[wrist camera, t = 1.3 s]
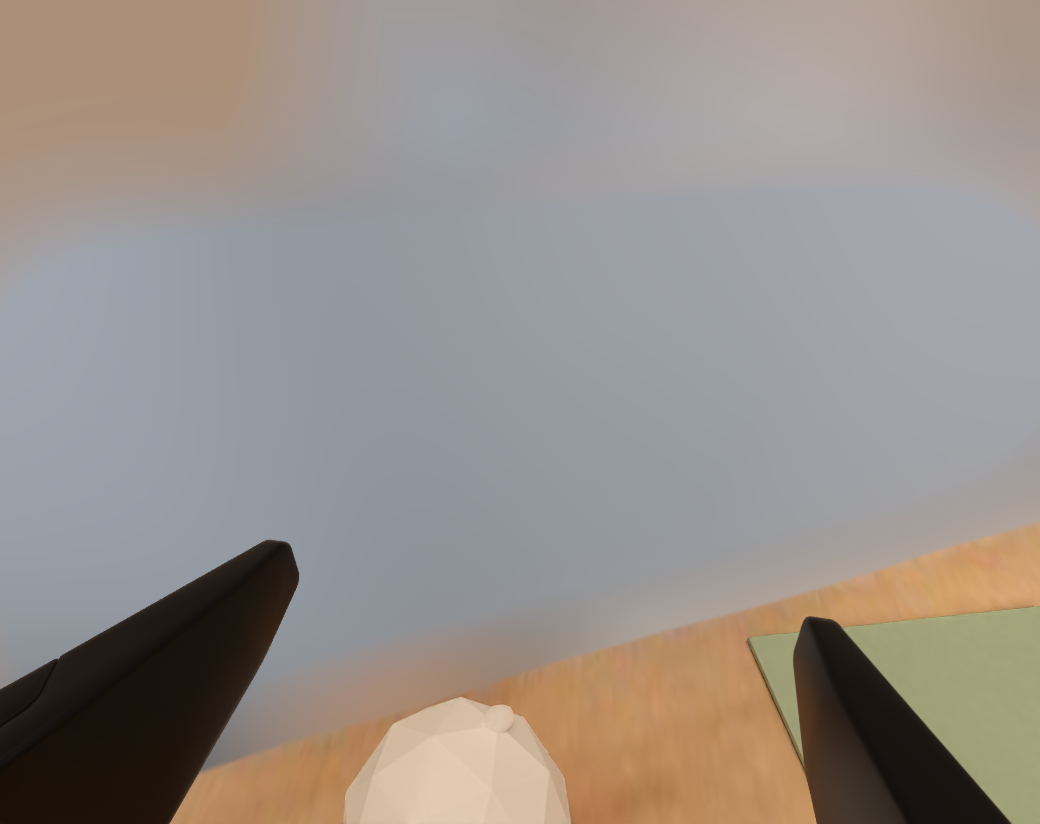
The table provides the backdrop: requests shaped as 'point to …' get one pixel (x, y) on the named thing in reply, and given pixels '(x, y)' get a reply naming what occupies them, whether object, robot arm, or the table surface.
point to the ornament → (459, 771)
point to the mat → (951, 692)
